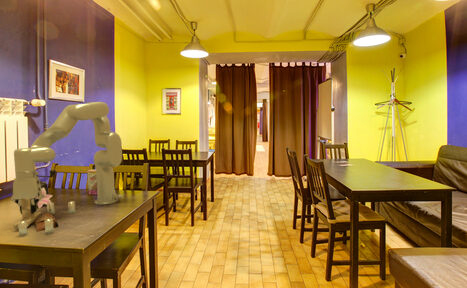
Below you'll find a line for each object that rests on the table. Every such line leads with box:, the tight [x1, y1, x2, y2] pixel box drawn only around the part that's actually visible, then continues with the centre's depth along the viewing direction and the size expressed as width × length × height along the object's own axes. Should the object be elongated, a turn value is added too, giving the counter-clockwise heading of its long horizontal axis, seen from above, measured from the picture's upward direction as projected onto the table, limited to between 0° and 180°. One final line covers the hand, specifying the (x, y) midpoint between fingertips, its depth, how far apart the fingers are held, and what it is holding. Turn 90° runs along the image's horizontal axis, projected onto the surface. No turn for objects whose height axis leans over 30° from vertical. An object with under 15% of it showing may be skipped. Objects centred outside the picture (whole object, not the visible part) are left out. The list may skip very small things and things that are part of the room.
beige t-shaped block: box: [13, 198, 43, 230], centre depth 125 cm, size 4×16×12 cm, turn 12°
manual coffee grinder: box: [36, 169, 57, 195], centre depth 170 cm, size 16×11×18 cm
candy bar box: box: [86, 169, 97, 196], centre depth 177 cm, size 11×5×16 cm, turn 86°
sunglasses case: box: [32, 212, 59, 233], centre depth 126 cm, size 18×7×7 cm, turn 44°
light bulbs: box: [17, 200, 76, 237], centre depth 127 cm, size 13×29×6 cm, turn 12°
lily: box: [36, 188, 53, 209], centre depth 153 cm, size 12×12×10 cm
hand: (28, 212), depth 125 cm, fingers closed on beige t-shaped block, 3 cm apart
